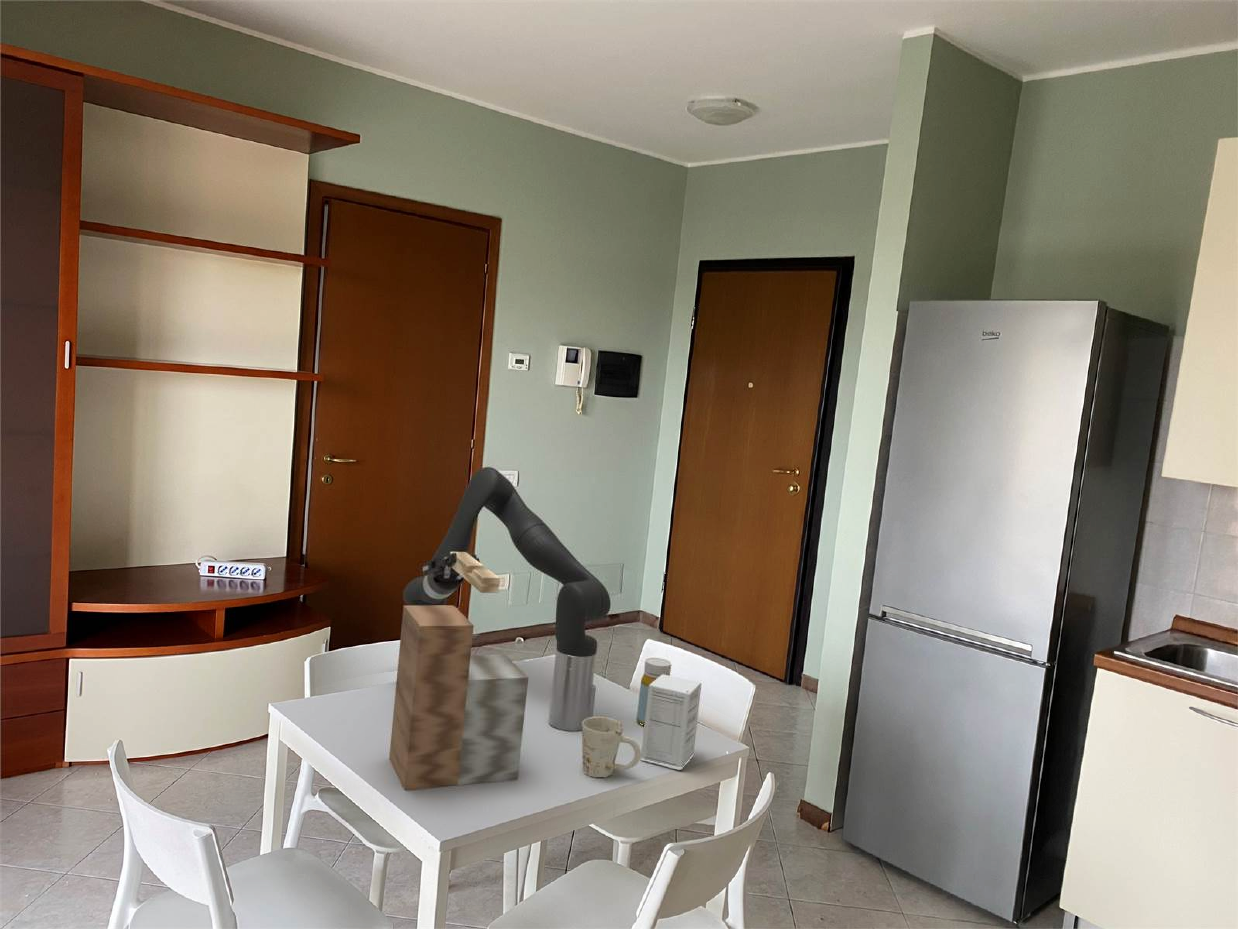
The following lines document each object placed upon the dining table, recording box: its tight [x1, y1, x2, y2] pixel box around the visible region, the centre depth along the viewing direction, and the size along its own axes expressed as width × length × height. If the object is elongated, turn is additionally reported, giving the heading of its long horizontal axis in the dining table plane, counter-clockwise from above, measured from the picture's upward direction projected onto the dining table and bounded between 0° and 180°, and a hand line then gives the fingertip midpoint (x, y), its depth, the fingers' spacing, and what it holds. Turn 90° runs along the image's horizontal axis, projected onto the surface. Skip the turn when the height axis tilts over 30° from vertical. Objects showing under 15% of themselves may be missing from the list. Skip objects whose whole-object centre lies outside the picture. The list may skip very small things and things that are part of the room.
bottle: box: [636, 657, 672, 725], centre depth 213 cm, size 7×7×15 cm
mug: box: [581, 716, 642, 778], centre depth 183 cm, size 8×13×10 cm, turn 82°
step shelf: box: [388, 604, 529, 791], centre depth 176 cm, size 22×14×31 cm, turn 116°
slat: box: [450, 552, 501, 594], centre depth 189 cm, size 4×24×3 cm, turn 26°
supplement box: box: [640, 674, 702, 767], centre depth 193 cm, size 10×9×17 cm
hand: (464, 557), depth 195 cm, fingers closed on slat, 3 cm apart
